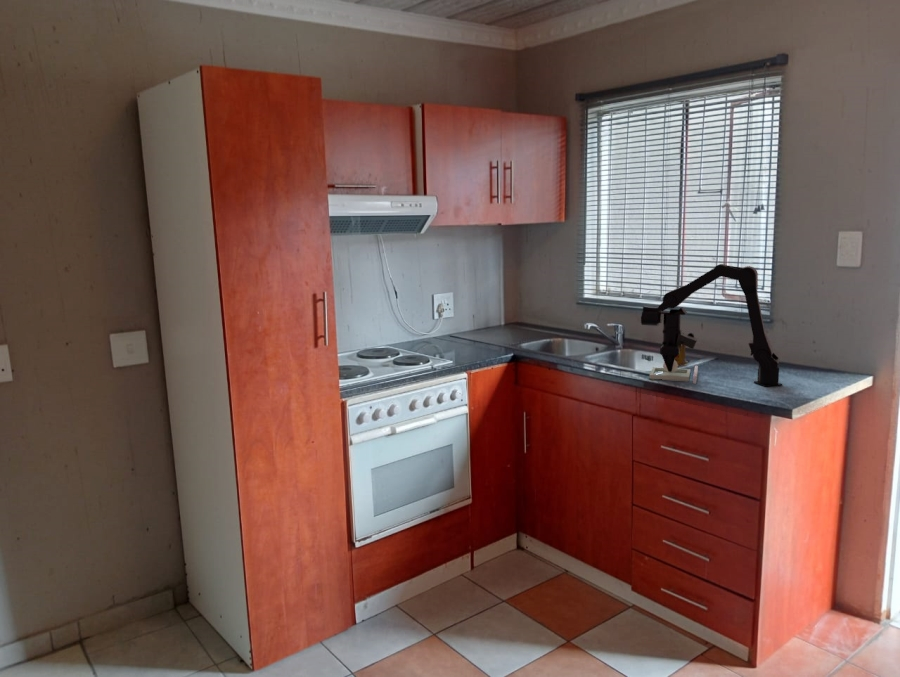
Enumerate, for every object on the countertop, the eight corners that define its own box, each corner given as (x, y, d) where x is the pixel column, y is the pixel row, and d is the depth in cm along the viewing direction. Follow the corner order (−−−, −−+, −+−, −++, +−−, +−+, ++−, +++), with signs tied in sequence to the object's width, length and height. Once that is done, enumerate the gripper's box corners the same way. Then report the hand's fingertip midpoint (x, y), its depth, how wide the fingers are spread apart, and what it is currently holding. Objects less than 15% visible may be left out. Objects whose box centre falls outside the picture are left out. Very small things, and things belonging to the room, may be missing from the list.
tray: (688, 381, 235) (688, 377, 235) (649, 379, 240) (649, 374, 239) (690, 373, 247) (690, 369, 247) (652, 371, 252) (653, 367, 251)
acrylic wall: (696, 383, 232) (696, 376, 231) (693, 383, 232) (693, 376, 232) (697, 372, 248) (698, 365, 248) (694, 372, 249) (695, 365, 248)
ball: (680, 373, 241) (680, 359, 240) (667, 374, 240) (667, 360, 239) (672, 370, 246) (673, 357, 245) (660, 371, 245) (660, 358, 244)
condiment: (666, 364, 263) (667, 334, 261) (668, 360, 270) (669, 330, 268) (686, 366, 260) (687, 335, 258) (688, 361, 267) (689, 331, 265)
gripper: (695, 331, 229) (693, 377, 231) (696, 323, 246) (695, 366, 248) (660, 330, 233) (659, 375, 235) (664, 322, 250) (663, 364, 253)
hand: (670, 370), depth 243 cm, fingers closed on ball, 5 cm apart
